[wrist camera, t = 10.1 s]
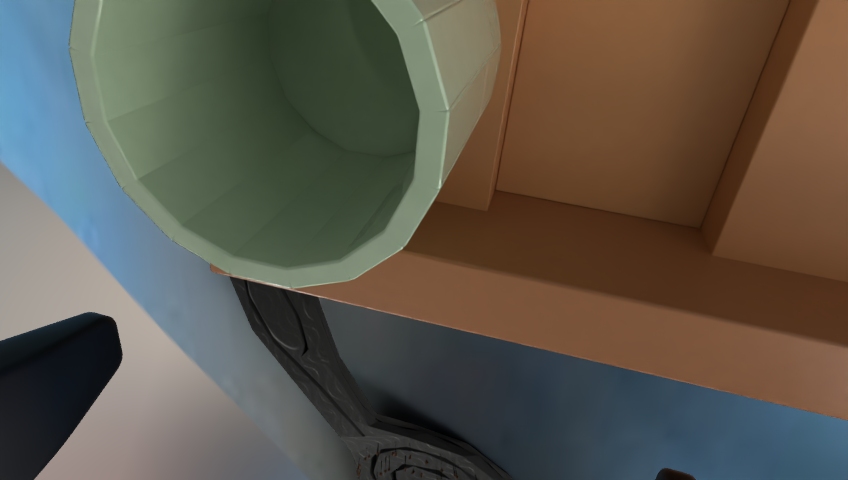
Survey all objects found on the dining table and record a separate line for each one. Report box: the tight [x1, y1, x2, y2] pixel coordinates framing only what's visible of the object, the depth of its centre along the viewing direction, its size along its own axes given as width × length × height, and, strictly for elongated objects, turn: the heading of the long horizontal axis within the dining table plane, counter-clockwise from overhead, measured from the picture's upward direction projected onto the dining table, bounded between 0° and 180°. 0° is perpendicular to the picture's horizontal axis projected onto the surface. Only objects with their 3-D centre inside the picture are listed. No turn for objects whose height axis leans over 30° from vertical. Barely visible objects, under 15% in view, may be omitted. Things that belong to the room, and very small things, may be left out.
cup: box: [69, 0, 501, 288], centre depth 11 cm, size 6×6×6 cm
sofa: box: [210, 0, 848, 420], centre depth 14 cm, size 20×10×8 cm, turn 85°
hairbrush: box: [229, 276, 512, 480], centre depth 26 cm, size 8×4×25 cm
